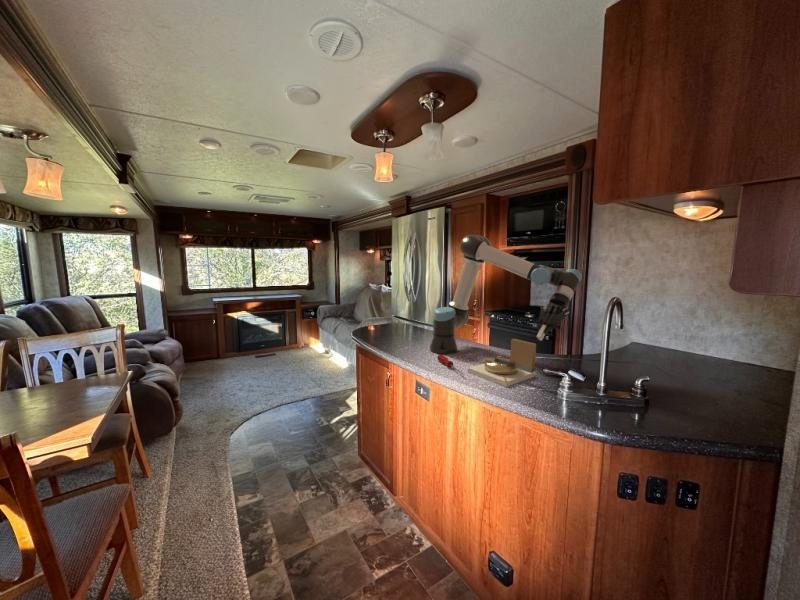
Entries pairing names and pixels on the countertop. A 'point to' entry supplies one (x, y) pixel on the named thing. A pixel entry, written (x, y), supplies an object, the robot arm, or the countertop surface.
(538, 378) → the countertop surface
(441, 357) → the screwdriver
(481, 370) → the plate
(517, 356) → the brass flange bracket
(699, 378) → the countertop surface
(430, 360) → the countertop surface
